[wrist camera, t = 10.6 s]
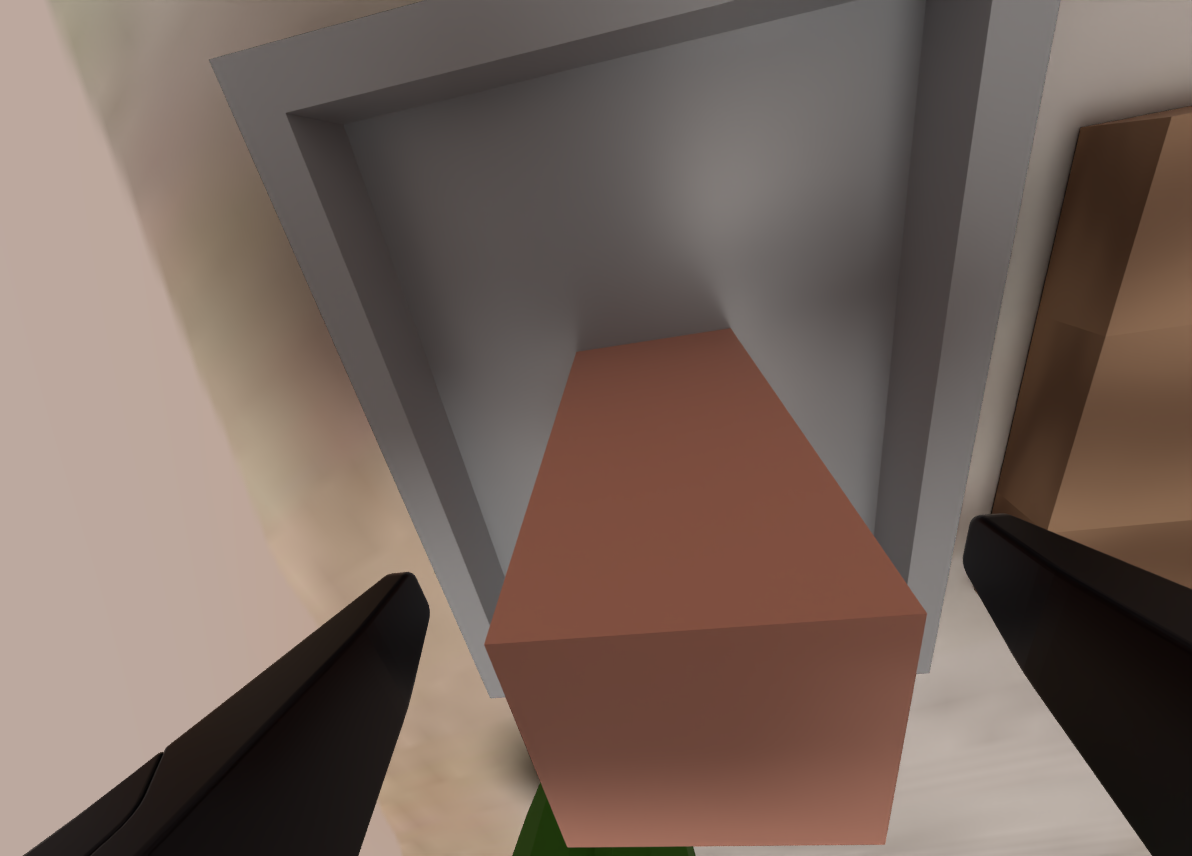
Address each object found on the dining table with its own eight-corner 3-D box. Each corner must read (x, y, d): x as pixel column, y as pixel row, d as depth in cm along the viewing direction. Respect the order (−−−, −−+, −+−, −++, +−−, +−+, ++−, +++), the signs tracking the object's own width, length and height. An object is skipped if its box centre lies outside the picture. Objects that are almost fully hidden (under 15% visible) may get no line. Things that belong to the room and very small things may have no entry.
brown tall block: (737, 462, 14) (885, 844, 6) (601, 478, 14) (567, 847, 6) (730, 328, 12) (927, 614, 4) (576, 351, 13) (483, 645, 5)
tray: (883, 597, 17) (929, 673, 14) (509, 626, 19) (490, 697, 16) (961, -79, 9) (1096, -185, 7) (309, 88, 11) (208, 60, 8)
